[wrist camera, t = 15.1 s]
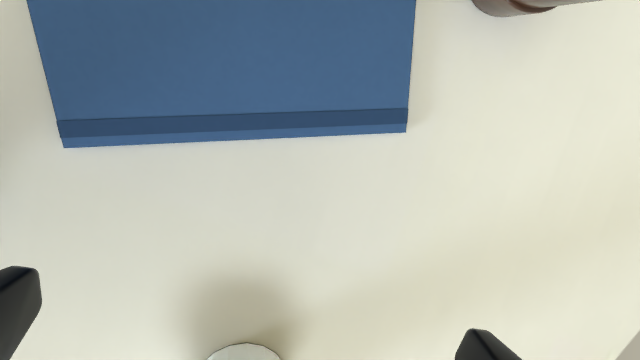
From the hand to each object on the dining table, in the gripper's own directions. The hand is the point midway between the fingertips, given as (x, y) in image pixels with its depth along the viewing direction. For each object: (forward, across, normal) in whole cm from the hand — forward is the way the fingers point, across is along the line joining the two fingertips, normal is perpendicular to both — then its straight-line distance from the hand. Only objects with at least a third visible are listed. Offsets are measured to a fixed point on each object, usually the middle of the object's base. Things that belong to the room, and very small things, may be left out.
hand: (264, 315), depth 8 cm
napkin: (+13, +3, -6) cm, 14 cm away
